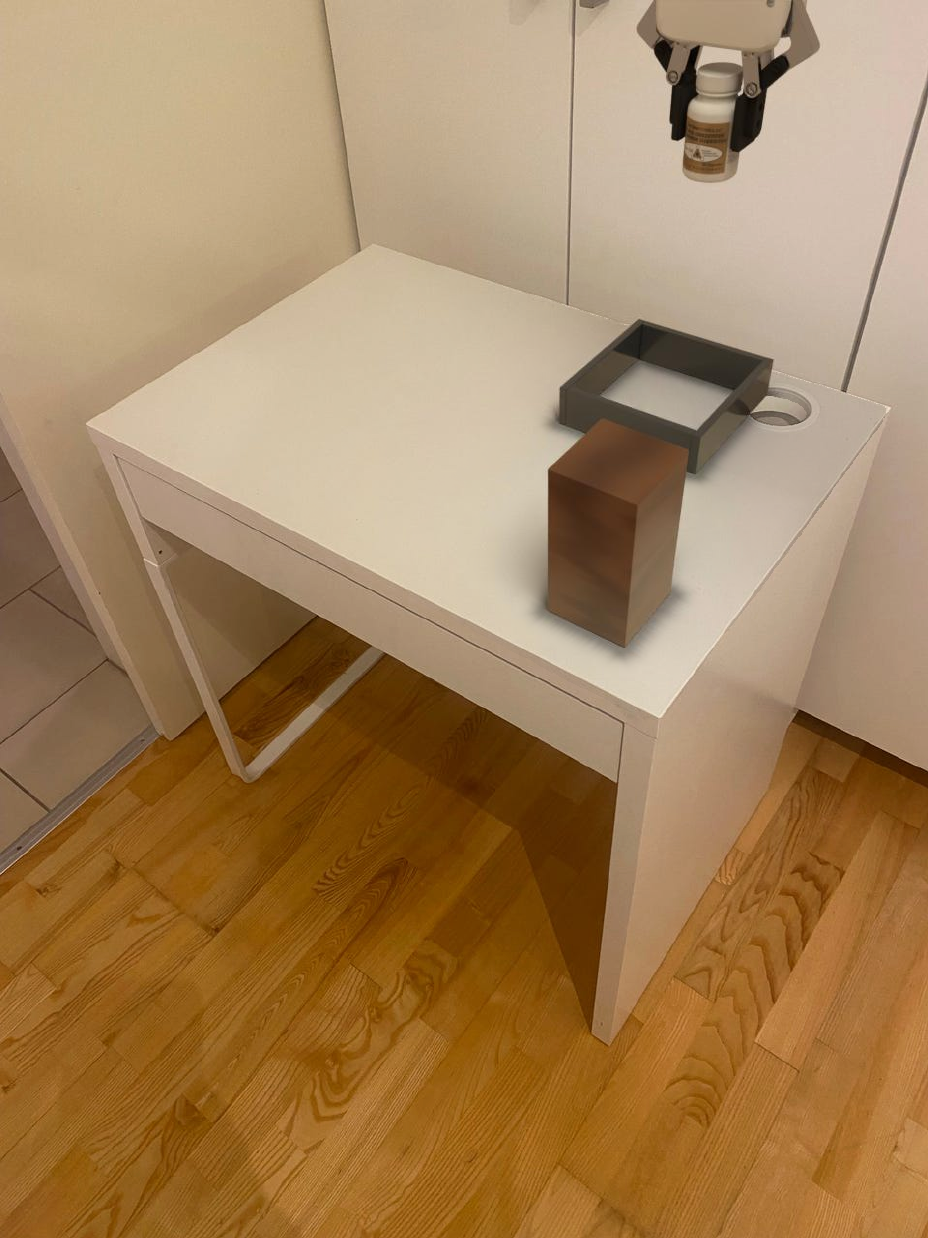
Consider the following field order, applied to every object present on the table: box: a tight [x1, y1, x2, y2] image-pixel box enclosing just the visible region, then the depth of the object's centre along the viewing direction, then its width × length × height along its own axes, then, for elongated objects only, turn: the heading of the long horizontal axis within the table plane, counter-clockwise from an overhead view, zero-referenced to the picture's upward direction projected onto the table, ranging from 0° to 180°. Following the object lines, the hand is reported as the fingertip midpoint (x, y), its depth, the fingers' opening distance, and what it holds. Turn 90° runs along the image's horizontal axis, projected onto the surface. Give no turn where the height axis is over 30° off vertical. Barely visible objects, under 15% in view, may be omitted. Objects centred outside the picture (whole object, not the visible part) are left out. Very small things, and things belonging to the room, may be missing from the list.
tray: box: [558, 318, 774, 475], centre depth 91 cm, size 15×15×4 cm
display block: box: [547, 418, 689, 648], centre depth 70 cm, size 7×7×14 cm
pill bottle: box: [681, 61, 744, 184], centre depth 75 cm, size 4×4×8 cm
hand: (713, 137), depth 76 cm, fingers closed on pill bottle, 4 cm apart
